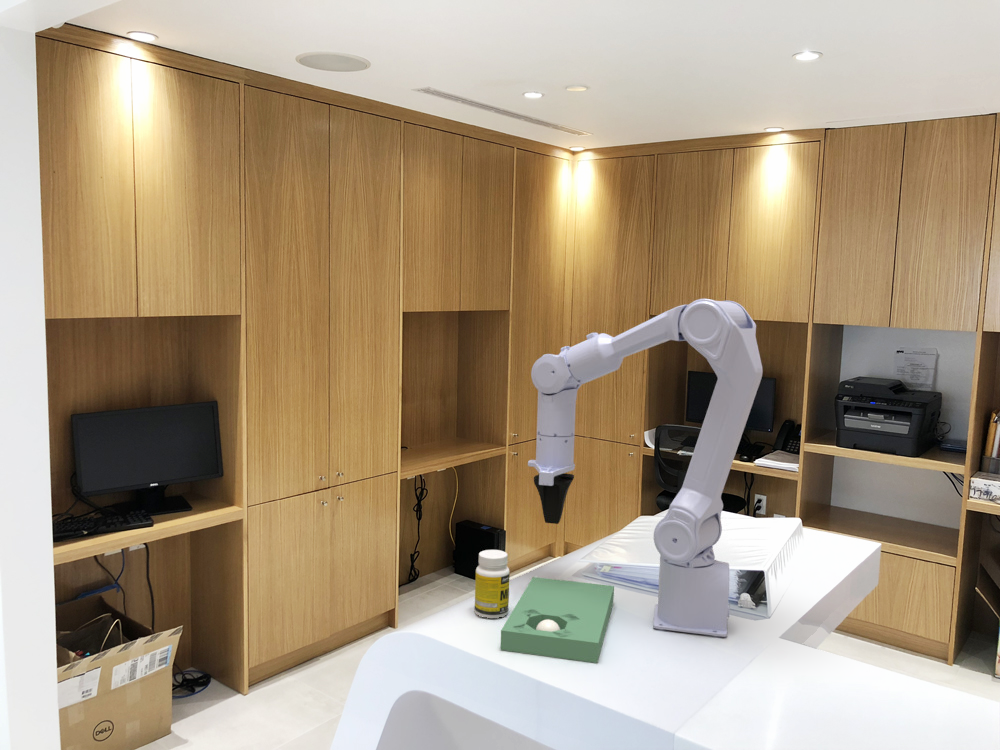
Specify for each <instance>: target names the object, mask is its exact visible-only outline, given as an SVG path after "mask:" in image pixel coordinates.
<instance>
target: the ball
mask: <svg viewBox="0 0 1000 750" xmlns="http://www.w3.org/2000/svg"><path fill="white" fill-rule="evenodd" d="M536 630H542V631H550V632H553V631H557V630H560V627H559V626H558V624H557V623H556V622H554V621H553V620H548V619H547V620H543V621H541V622H540V623H539V624H538V625H537V627H536Z"/></svg>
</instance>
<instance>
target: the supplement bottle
mask: <svg viewBox="0 0 1000 750" xmlns="http://www.w3.org/2000/svg"><path fill="white" fill-rule="evenodd" d="M508 557H509V555H508V553H507V552H506V551H503V550H500V549H485V550H482V551H480V552H479V553H478V565H477V567H476V569H475V580H474V581H475V585H474V589H475V591H474V613H475V615H477V616H478V615H480V616H483V617H487V618H486V619H488V618H497V619H500V618H499V617H502V618H504V617H506V616H507V615H508V614H509V605H510V604H509V603H510V600H509V596H510V576H511V575H510V574H511V573H510V568H509V567H508V562H509V560H508ZM505 615H506V616H505ZM480 616H479V617H480Z"/></svg>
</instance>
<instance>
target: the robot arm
mask: <svg viewBox="0 0 1000 750" xmlns="http://www.w3.org/2000/svg"><path fill="white" fill-rule="evenodd" d="M756 331H757V324H756V323H755V321H754V320H753V318H752V317H751V315H750V314H749V312H748V311H747V310H746V309H745V307H744V306H743V305H742V304H740V303H738V302H736V301H733V300H727V299H726V300H714V299H709V298H699V299H696V300H693V301H692V302H691V303H689V304H682V305H678V306H675V307H673V308H671V309H669V310H666V311H664V312H662V313H660V314H659V315H656V316H654V317H652V318H649V319H648V320H646V321H644V322H641V323H640V324H638V325H636V326H634V327H632V328H629V329H628V330H625V331H624V332H622V333H620V334H617V335H615V336H612V335H610V334H607V333H605V332H603V333H602V332H601V333H598V332H591V333H589V334H587V335H586V336H585V337H586V340H584V341H581V342H579V343H576V344H575V345H573V346H569V345H567V346H566V345H565V346H563V347H561V348H560V352H559V354H553V353H546V354H543V355H542V356H541V357H539V358H538V359H537V360H535V362H534V363H533V365H532V368H531V372H530V374H531V375H530V376H531V377H530V378H531V381H532V384H533V385H534V387H535V388H536V390H537V413H536V414H537V415H536V416H537V417H536V419H537V420H536V445H535V446H536V448H535V459H529V460H528V462H527V467H530V468H531V467H533V468H534V469H535V470H536V471H537V472H538V474H535V475H534V477H533V484H534V486H535V488H536V489H537V492H538V495H539V497H540V503H541V509H542V516H543V520H544V522H545V523H546V524H554V525H555V524H556V525H558V524H559V523H560V521H561V519H562V516H563V511H564V506H565V503H566V502H565V501H566V497H567V494H568V491H569V489H570V486H571V484H572V483H573V481H574V478H575V474H572V473H569V472H572V471H574V470H575V467H576V464H575V462H574V460H575V438H576V437H575V434H576V432H575V431H576V430H575V429H576V406H577V404H576V403H577V398H578V391H579V389H580V388H581V387H582V385H585V384H586V383H589V382H591V381H594V380H596V379H599V378H601V377H604V376H606V375H609V374H611V373H613V372H616V371H618V370H619V369H620V368H621V365H622V363H623V362H624V358H626V357H628V356H632V355H633V354H634V355H635V354H638V353H640V352H642V351H644V350H648V349H650V348H653V347H655V346H656V347H657V345H661V344H663V343H667V342H668V341H676V342H683V341H684V342H685V341H686V343H687V344H689V345H690V346H691V347H692V348H694V349H695V350H696V351H697V352H698V353H699V354H700V355H702V356H703V357H704V358H705V359H706V360H707V362H708V363H709V365H710V367H711V369H712V370H713V371H714V373H715V375H716V377H717V380H716V383H715V385H714V389H713V392H712V395H711V397H710V401H709V405H708V408H707V409H706V412H705V413H706V414H705V417H704V420H703V421H702V426H701V429H700V432H699V435H698V438H697V441H696V444H695V447H694V450H693V453H692V456H691V459H690V462H689V465H688V468H687V471H686V474H685V477H684V480H683V482H682V483H683V484H682V486H681V488H680V490H679V491H678V493H677V494H676V495H675V497H674V499H673V500H672V502H670V504H669V507H668V511H667V513H666V515H665V516H664V517H663V518H662V519H660V521H658V523H657V524H656V526H655V528H654V530H653V542H654V546H655V548H656V550H657V552H658V553H659V572H658V573H659V574H658V595H657V604H655V608H654V615H653V621H652V625H653V626H652V627H653V628H654V629H655V630H656V629H657V630H663V631H664V630H665V631H673V632H681V633H689V634H698V635H705V636H711V637H712V636H713V637H720V638H721V637H722V638H723V637H724V638H726V637H728V619H729V617H730V614H731V613H730V611H731V609H730V607H731V605H730V603H729V601H730V600H729V597H730V563H729V562H726V561H722V560H721V561H720V560H717V559H716V558H715V553H714V549H713V547H714V545H716V544H717V543H718V542H719V541H720V538H721V536H722V531H723V527H722V520H721V515H722V512H723V509H724V503H723V500H722V494H723V491H724V488H725V485H726V482H727V480H728V477H729V474H730V471H731V468H732V465H733V462H734V460H735V457H736V453H737V450H738V447H739V445H740V442H741V439H742V435H743V433H744V430H745V428H746V424H747V421H748V419H749V415H750V413H751V409H752V407H753V404H754V400H755V398H756V395H757V391H758V389H759V387H760V384H761V380H762V377H763V371H764V370H763V365H762V359H761V355H760V351H759V345H758V341H757V337H756V334H757V333H756Z"/></svg>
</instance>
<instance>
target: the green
mask: <svg viewBox="0 0 1000 750" xmlns="http://www.w3.org/2000/svg"><path fill="white" fill-rule="evenodd" d="M614 597H615V586H614V585H608V584H600V583H591V582H581V581H574V580H573V581H572V580H564V579H555V578H546V577H537V576H532V578H531V579H530V582H529V583H528V585H527V586H526V588H525V590H524V591H523V593H522V595H521V596H520V597H519V599H518V601H517V603H516V605H515V606H514V607H513V610H512V611H511V613H510V615H509V616H508V618H507V619H506V622H505V623H504V625H503V627H502V628H501V630H500V649H501V650H500V651H505V650H507V651H506V652H512V651H513V653H522V654H526V655H527V654H529V655H536V656H542V657H549V658H557V659H564V660H572V661H578V662H579V661H580V662H586V663H594V664H598V663H599V658H600V655H601V651H602V647H603V644H604V640H605V637H606V632H607V628H608V626H609V621H610V618H611V613H612V610H613V606H614ZM547 619H548V620H553V621H554V622H556V623H557V624H558V626H559V627H560V630H557V631H553V632H550V631H542V630H536V627H537V625H538V624H539V623H540V622H541V621H543V620H547Z"/></svg>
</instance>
